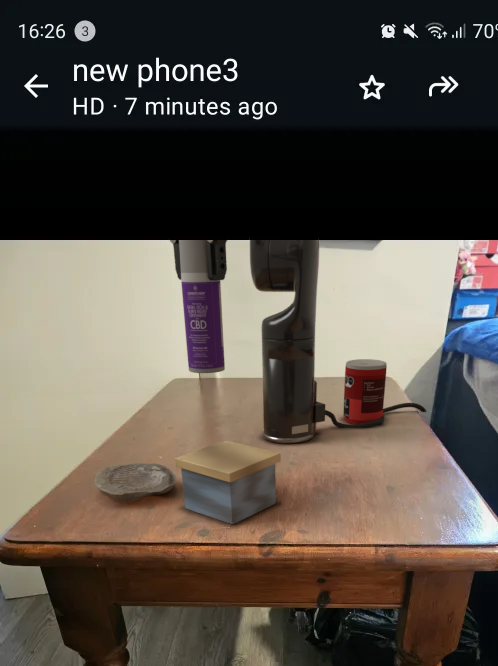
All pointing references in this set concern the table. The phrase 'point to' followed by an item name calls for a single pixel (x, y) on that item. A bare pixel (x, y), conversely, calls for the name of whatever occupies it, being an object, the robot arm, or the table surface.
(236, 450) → the board box
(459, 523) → the table surface
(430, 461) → the table surface
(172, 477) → the fossil
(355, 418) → the canned food
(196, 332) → the container
